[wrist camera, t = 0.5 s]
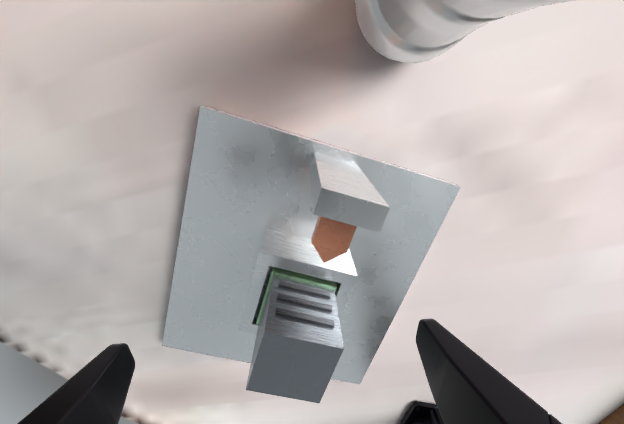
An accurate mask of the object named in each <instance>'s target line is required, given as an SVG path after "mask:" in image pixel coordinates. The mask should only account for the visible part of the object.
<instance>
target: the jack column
mask: <svg viewBox="0 0 624 424" xmlns="http://www.w3.org/2000/svg"><path fill="white" fill-rule="evenodd" d="M336 289H337V284H336V282H334V281H330V280H326V279H322V278H318V277H313V276H309V275H305V274H301V273H297V272H293V271H289V270H285V269H281V268H276V267H272V268H271V272H270V275H269V278H268V282H267V285H266V288H265V292H264V297H263V300H262V303H261V307H260V310H259V313H258V317H257V321H256V324H257V325H258V329H257V334H256V339H255V345H254V350H253V355H252V360H251V366H250V371H249V376H248V381H247V387H246V390H249V391H255V392H260V393H266V394H271V395H277V396H282V397H288V398H293V399H299V400H304V401H310V402H315V403H320V401H321V398H322V396H323V394H324V392H325V390H326V387H327V385H328V383H329V381H330V379H331V376H332V374H333V372H334V370H335V368H336V366H337V363H338V361H339V359H340V357H341V355H342V352H343V350H344V346H343V340H342V334H341V328H340V321H339V315H338V309H337V303H336V297H335V291H336Z"/></svg>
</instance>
